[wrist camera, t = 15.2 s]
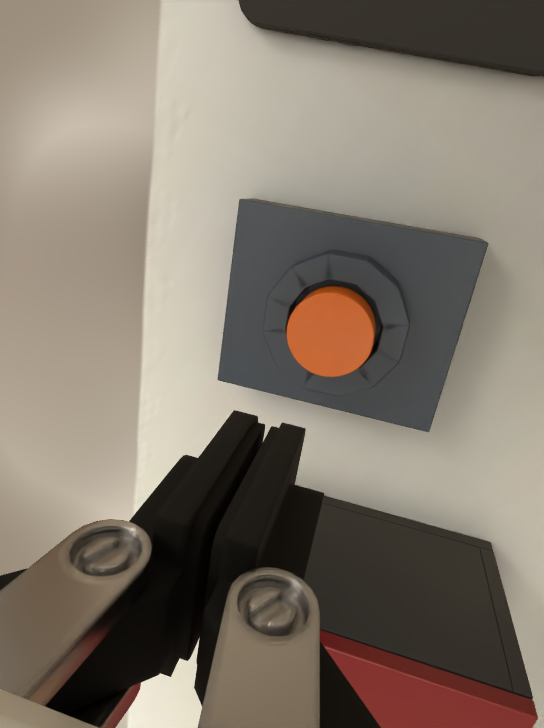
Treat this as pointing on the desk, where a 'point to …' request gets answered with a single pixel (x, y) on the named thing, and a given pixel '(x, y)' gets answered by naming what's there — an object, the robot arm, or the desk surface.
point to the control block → (367, 278)
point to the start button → (331, 331)
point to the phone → (419, 27)
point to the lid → (423, 691)
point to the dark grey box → (414, 594)
